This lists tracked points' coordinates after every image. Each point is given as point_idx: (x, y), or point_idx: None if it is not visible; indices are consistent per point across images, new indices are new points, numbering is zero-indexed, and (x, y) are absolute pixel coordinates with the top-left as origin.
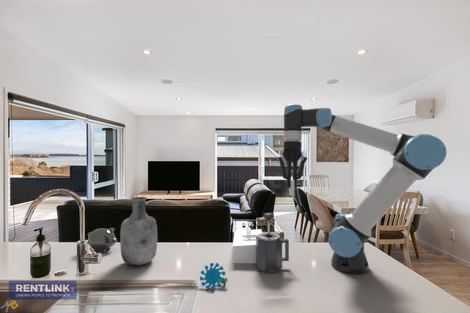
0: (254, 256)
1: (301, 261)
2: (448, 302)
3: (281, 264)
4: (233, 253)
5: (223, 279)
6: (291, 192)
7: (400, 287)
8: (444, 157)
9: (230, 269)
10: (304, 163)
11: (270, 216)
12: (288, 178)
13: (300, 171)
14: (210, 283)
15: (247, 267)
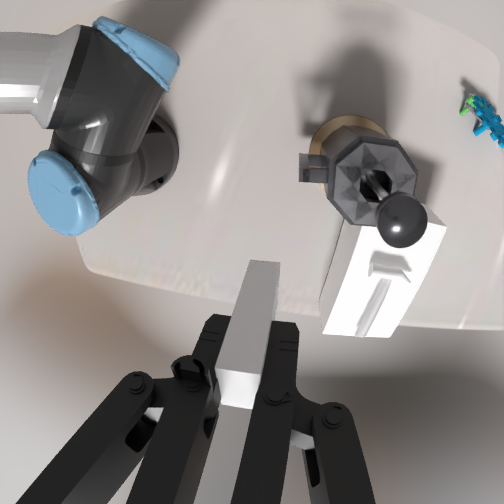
0: None
1: (248, 190)
2: None
3: (325, 141)
4: (437, 217)
5: (475, 99)
6: (271, 278)
7: None
8: None
9: (439, 180)
10: (22, 498)
11: (404, 195)
12: (291, 405)
13: (97, 446)
14: (490, 109)
15: None
